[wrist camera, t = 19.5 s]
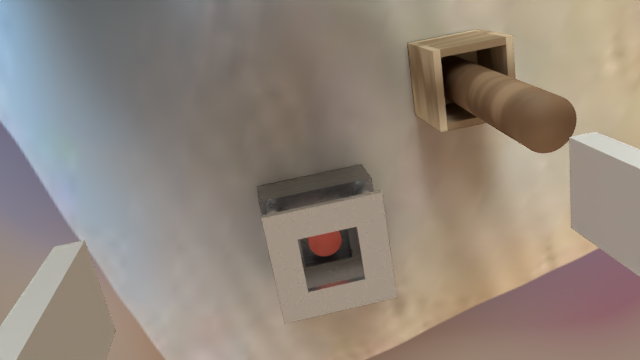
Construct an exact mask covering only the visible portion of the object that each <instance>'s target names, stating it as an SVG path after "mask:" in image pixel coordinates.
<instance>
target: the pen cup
mask: <svg viewBox="0 0 640 360" xmlns="http://www.w3.org/2000/svg"><path fill="white" fill-rule="evenodd" d="M407 44H408V53H409V62H410V71H411V79H412V88H413V97H414V105H415V114H416V115H417V116H418V117H420V118H421V119H422V120H424V121H425V122H427V123H428V124H430V125H431V126H433V127H434V128H435V129H437V130H438V131H440V132H444V131H449V130H454V129H458V128H463V127H468V126H473V125H478V124H483V123H486V122H485V121H483V120H481V119H480V118H478V117H476V116H475V115H473V114H472V113H470V112H468V111H467V110H465V109H463V108H462V107H460V106H458V105H457V104H455V103H454V102H452V101H450V100H449V99H447V98H445V97H444V86H443V76H442V66H441V58H442V57H445V56H450V55H452V56H457V57H460V58H462V59H465V60H467V61H470V62H473V63H475V64H478V65H480V66H483V67H486V68H488V69H491V70H493V71H496V72H499V73H501V74H504V75H506V76H509V77H512V78H514V79H515V63H514V44H513V35H508V34H502V33H496V32H490V31H485V30H479V29H477V30H472V31H467V32H462V33H457V34H451V35H446V36H441V37H436V38H431V39H426V40H420V41H415V42H410V43H407Z"/></svg>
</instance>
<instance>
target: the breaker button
mask: <svg viewBox="0 0 640 360" xmlns="http://www.w3.org/2000/svg"><path fill="white" fill-rule="evenodd" d="M307 240H308V244H309V247H310V249H311V251H312V252H313V253H315V254H316V255H319V256H329V255H332V254H334V253H335V252H336V251H337V250H338V249H339V248H340V246H341V242H342V238H341V234H340V232H339V231H334V232H330V233H325V234H321V235H316V236H312V237H307Z"/></svg>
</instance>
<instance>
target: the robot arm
mask: <svg viewBox="0 0 640 360" xmlns="http://www.w3.org/2000/svg"><path fill="white" fill-rule="evenodd" d="M569 154H570V202H571V228H572V229H573V230H575V231H576V232H578V233H579V234H580V235H582V236H583V237H585V238H586V239H588V240H589V241H590V242H592V243H593V244H595V245H596V246H597V247H599V248H600V249H602V250H603V251H604V252H606V253H607V254H609V255H610V256H612V257H613V258H614V259H616V260H617V261H619V262H620V263H621V264H623V265H624V266H626V267H627V268H628V269H630V270H631V271H633V272H634V273H636V274H637V275H638V276H640V149H638V148H635V147H633V146H630V145H628V144H625V143H623V142H620V141H618V140H615V139H612V138H610V137H607V136H605V135H602V134H600V133H597V132H591V133H587V134H582V135H577V136H573V137H569ZM115 332H116V330H115V328H114V324H113V322H112V318H111V316H110V313H109V310H108V307H107V304H106V301H105V298H104V295H103V292H102V289H101V286H100V283H99V281H98V278H97V275H96V272H95V269H94V266H93V263H92V260H91V257H90V254H89V251H88V248H87V246H86V243H85V240H83V241H79V242H74V243H69V244H65V245H60V246H55V247H54V248H53V249H52V251H51V252H50V254H49V255H48V257H47V258H46V260H45V261H44V262H43V264H42V265H41V267H40V268H39V270H38V271H37V273H36V274H35V276H34V277H33V279H32V280H31V282H30V283H29V285H28V286H27V288H26V289H25V291H24V292H23V294H22V295H21V296H20V298H19V299H18V301H17V302H16V304H15V305H14V307H13V308H12V310H11V311H10V313H9V314H8V316H7V317H6V319H5V320H4V322H3V323H2V325H1V326H0V360H106V359H107V356H108V353H109V350H110V347H111V344H112V341H113V338H114V334H115Z"/></svg>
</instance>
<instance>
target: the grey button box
mask: <svg viewBox="0 0 640 360" xmlns="http://www.w3.org/2000/svg"><path fill="white" fill-rule="evenodd" d="M257 190H258V198H259V204H260V208H261V213H262V215H261V220H262V224H263V229H264V233H265V237H266V242H267V246H268V251H269V255H270V260H271V264H272V269H273V273H274V278H275V282H276V287H277V291H278V296H279V300H280V305H281V309H282V314H283V318H284V323H285V324H286V323H290V322H294V321H299V320H303V319H307V318H312V317H316V316H320V315H325V314H329V313H333V312H338V311H342V310H346V309H351V308H355V307H359V306H364V305H368V304H372V303H377V302H381V301H385V300H390V299H394V298H397V294H396V287H395V280H394V272H393V265H392V258H391V251H390V244H389V237H388V230H387V223H386V216H385V209H384V202H383V195H382V192H381V190H378V191H373V185H372V178H371V177H370V175H369V174H368V173H367V171H366V170H365V168H364V167H363V166H362V165H357V166H352V167H348V168H343V169H338V170H333V171H329V172H324V173H319V174H314V175H309V176H305V177H300V178H295V179H290V180H286V181H281V182H276V183H271V184H267V185H262V186H257ZM334 231H339V232H340V234H341V238H342V242H341V246H340V248H339V249H338V250H337V251H336V252H335V253H334V254H332V255H329V256H319V255H316V254H315V253H313V252H312V251H311V249H310V247H309V244H308V240H307V237H312V236H316V235H321V234H325V233H330V232H334Z"/></svg>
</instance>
